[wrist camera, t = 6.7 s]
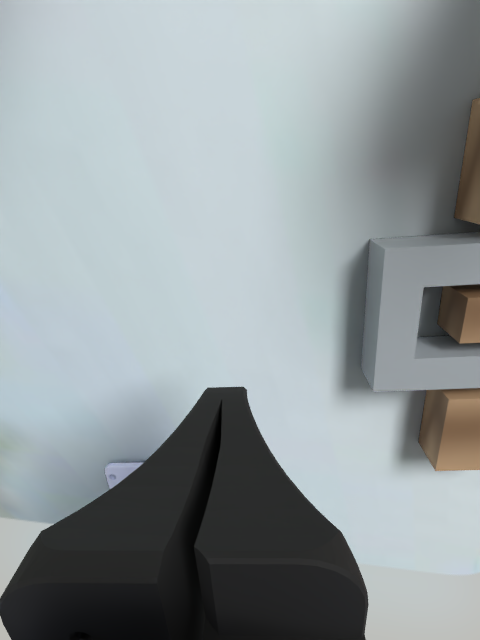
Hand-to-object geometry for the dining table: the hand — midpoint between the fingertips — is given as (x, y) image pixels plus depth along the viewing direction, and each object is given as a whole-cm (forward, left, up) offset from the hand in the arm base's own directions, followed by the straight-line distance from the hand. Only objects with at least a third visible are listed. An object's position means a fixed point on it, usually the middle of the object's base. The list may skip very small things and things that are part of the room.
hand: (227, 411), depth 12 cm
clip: (0, -11, -10) cm, 14 cm away
